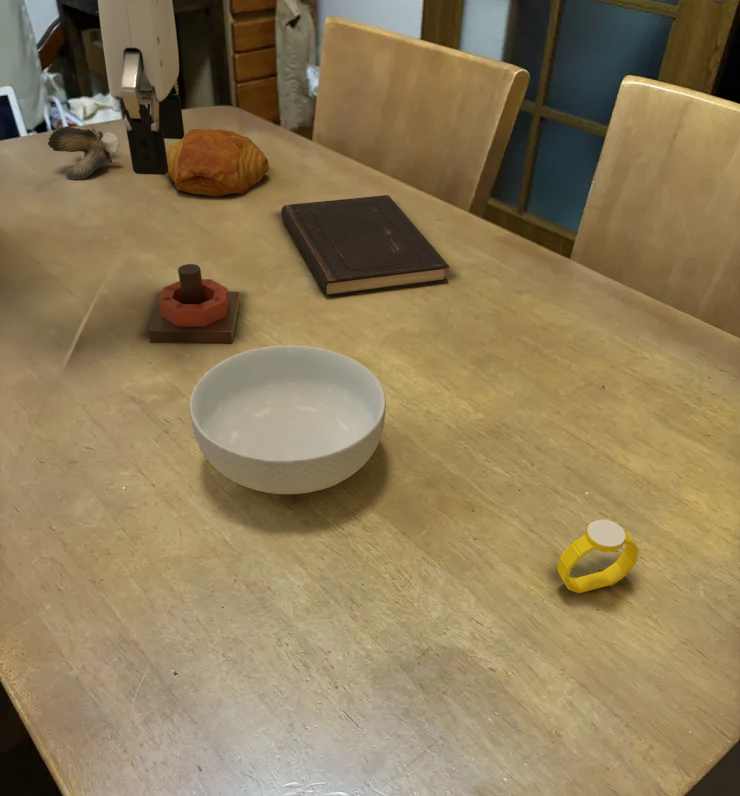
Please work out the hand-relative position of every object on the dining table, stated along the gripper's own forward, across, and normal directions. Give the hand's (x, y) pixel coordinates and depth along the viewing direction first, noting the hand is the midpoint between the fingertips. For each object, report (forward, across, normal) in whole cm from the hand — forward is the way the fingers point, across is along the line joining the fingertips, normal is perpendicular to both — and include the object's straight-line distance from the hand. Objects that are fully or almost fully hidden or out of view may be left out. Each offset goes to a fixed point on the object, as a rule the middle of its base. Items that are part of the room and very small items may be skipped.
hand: (160, 154), depth 75 cm
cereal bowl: (+18, +26, +14) cm, 34 cm away
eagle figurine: (+19, -44, -21) cm, 53 cm away
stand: (+18, +2, +2) cm, 18 cm away
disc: (+16, +2, +2) cm, 16 cm away
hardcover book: (+18, -18, +21) cm, 32 cm away
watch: (+17, +40, +38) cm, 58 cm away
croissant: (+18, -40, -1) cm, 44 cm away
